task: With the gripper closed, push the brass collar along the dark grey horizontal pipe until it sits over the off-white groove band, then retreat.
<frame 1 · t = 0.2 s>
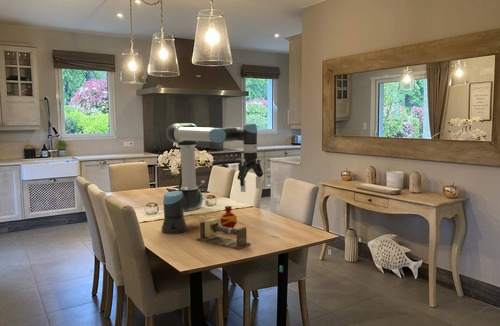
hand: (250, 189, 225), 28 cm above the table, fingers open, 13 cm apart
collar: (212, 227, 224), point 7 cm above the table, slide at 0.0 cm
potion bottle: (229, 231, 243), on the table
pipe rig: (222, 242, 221), on the table
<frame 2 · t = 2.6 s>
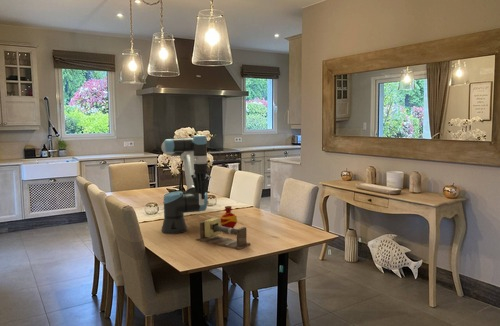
hand: (201, 204, 227), 19 cm above the table, fingers closed
nothing on the table moved.
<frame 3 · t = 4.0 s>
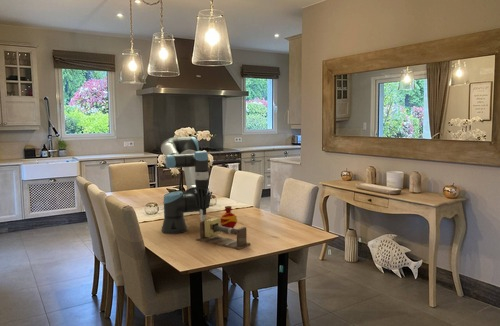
hand: (203, 220, 228), 11 cm above the table, fingers closed
nothing on the table moved.
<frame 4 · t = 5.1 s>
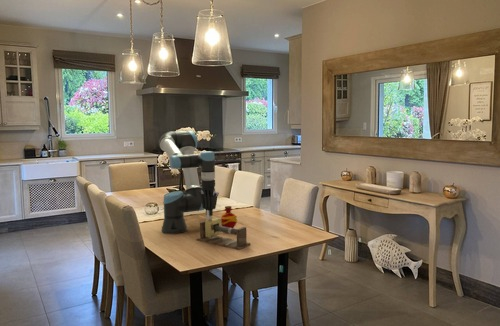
hand: (209, 221, 225), 11 cm above the table, fingers closed
collar: (213, 227, 224), point 8 cm above the table, slide at 0.5 cm, touching gripper
everything else where it was.
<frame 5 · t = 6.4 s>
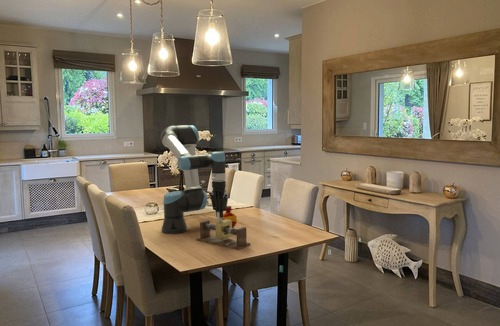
hand: (219, 223, 221), 11 cm above the table, fingers closed
collar: (223, 229, 220), point 8 cm above the table, slide at 8.0 cm, touching gripper
everything else where it was.
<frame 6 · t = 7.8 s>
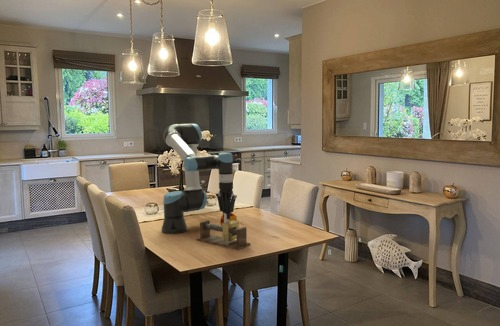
hand: (226, 224, 218), 10 cm above the table, fingers closed
collar: (230, 230, 217), point 8 cm above the table, slide at 12.8 cm, touching gripper
everything else where it was.
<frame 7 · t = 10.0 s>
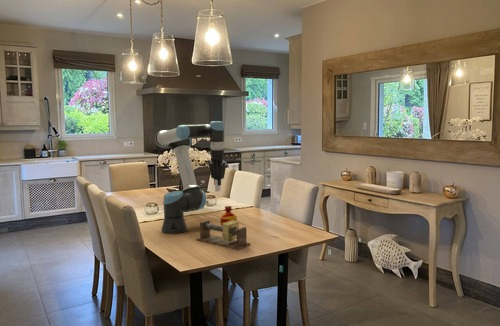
hand: (217, 190, 227), 27 cm above the table, fingers closed
collar: (231, 230, 217), point 7 cm above the table, slide at 12.9 cm
everything else where it was.
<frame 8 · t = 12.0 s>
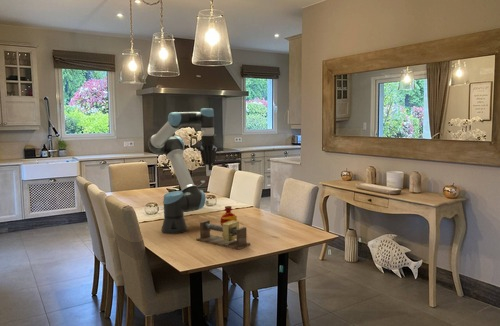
hand: (208, 175, 236), 34 cm above the table, fingers closed
nothing on the table moved.
at the end: collar slide at 12.9 cm; the gripper is holding nothing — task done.
